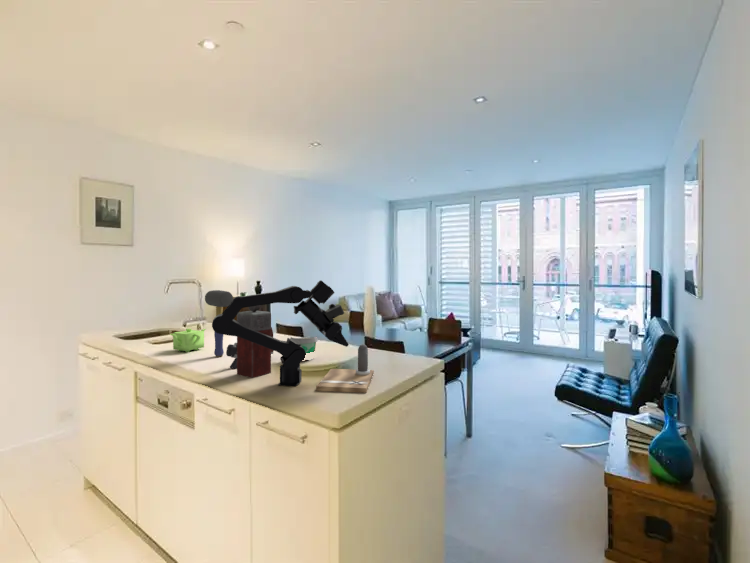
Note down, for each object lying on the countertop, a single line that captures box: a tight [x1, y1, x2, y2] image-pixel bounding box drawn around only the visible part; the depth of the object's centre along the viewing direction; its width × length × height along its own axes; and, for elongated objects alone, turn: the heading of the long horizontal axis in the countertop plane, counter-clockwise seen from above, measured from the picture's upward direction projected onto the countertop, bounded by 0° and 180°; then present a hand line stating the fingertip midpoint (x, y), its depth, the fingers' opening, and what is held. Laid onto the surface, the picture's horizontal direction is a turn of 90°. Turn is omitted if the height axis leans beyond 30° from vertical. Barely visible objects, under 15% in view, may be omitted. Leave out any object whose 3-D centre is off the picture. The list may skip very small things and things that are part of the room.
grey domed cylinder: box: [355, 344, 371, 376], centre depth 143 cm, size 5×5×11 cm
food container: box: [290, 336, 318, 353], centre depth 170 cm, size 12×6×10 cm, turn 105°
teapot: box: [169, 328, 207, 353], centre depth 189 cm, size 15×13×11 cm
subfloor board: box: [315, 368, 375, 394], centre depth 137 cm, size 16×23×2 cm
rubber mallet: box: [204, 289, 234, 358], centre depth 176 cm, size 12×8×30 cm, turn 55°
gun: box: [225, 342, 274, 370], centre depth 163 cm, size 2×25×10 cm, turn 151°
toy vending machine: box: [236, 305, 274, 379], centre depth 148 cm, size 9×11×28 cm
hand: (344, 343), depth 141 cm, fingers open, 9 cm apart
